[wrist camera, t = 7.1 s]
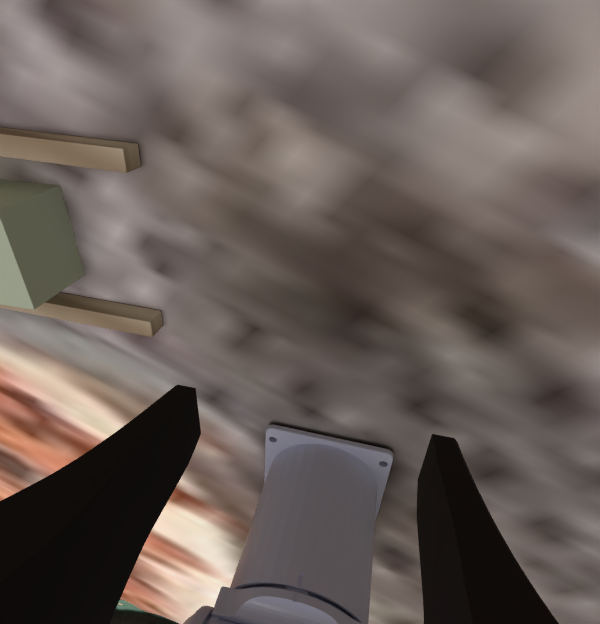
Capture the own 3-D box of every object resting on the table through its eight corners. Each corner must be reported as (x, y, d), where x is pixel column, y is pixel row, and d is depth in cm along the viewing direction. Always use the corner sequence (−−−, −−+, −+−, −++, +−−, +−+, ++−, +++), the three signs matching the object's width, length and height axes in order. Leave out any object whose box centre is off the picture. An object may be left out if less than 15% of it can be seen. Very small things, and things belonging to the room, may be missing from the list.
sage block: (86, 273, 24) (34, 309, 20) (10, 263, 25) (-52, 296, 21) (61, 184, 21) (-3, 209, 18) (-23, 176, 22) (-99, 199, 19)
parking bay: (163, 325, 24) (152, 336, 23) (-9, 293, 26) (-25, 302, 25) (137, 143, 19) (122, 148, 18) (-77, 118, 21) (-101, 121, 20)
